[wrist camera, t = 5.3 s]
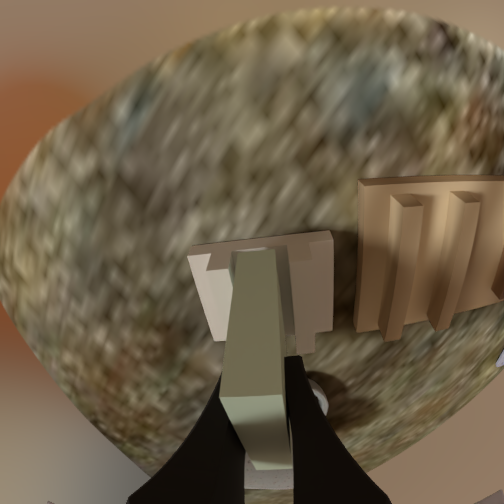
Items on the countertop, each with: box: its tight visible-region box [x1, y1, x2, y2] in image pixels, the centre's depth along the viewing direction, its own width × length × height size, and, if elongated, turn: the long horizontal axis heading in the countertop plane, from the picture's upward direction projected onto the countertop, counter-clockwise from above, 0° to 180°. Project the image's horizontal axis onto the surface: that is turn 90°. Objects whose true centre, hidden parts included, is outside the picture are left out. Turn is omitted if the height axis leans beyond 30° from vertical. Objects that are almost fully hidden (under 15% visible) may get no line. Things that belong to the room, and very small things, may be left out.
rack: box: [353, 175, 504, 342], centre depth 13 cm, size 15×9×2 cm, turn 99°
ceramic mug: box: [244, 379, 328, 489], centre depth 20 cm, size 11×8×8 cm
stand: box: [187, 230, 334, 354], centre depth 15 cm, size 7×6×2 cm
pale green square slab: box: [219, 249, 293, 470], centre depth 12 cm, size 2×7×7 cm, turn 8°
